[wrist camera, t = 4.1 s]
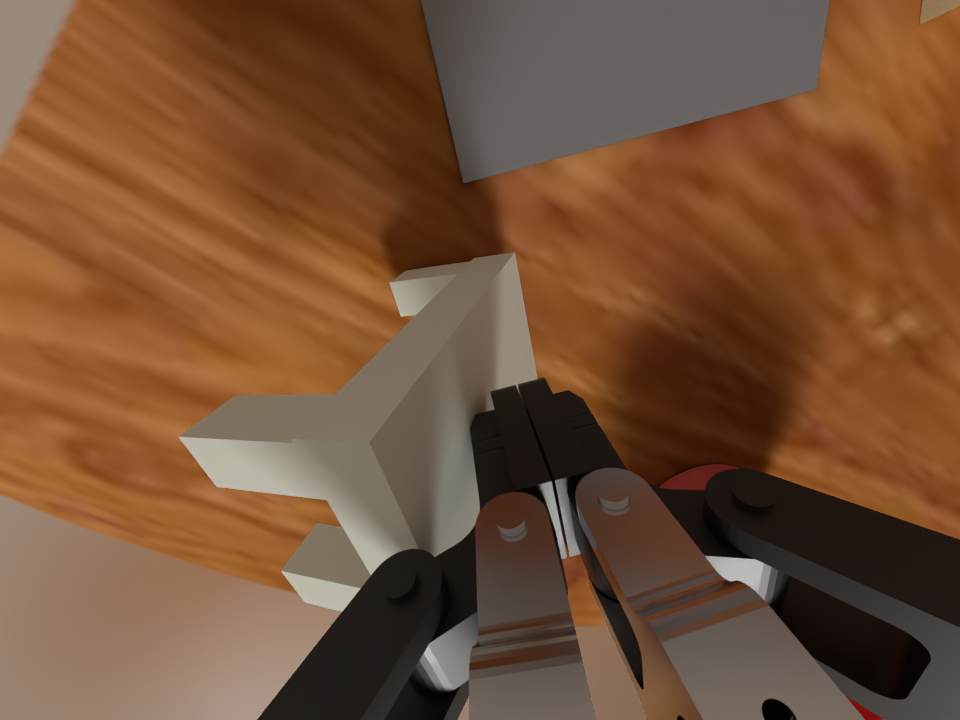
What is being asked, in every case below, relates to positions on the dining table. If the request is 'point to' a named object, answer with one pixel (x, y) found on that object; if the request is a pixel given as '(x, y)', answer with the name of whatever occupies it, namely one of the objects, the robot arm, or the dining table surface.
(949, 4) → the milk carton
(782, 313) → the dining table surface
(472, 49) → the mat
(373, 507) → the stool
